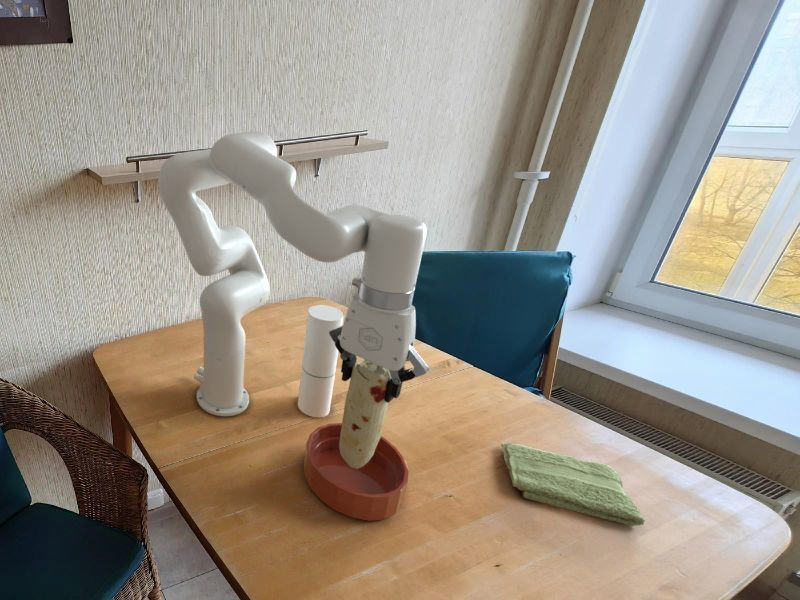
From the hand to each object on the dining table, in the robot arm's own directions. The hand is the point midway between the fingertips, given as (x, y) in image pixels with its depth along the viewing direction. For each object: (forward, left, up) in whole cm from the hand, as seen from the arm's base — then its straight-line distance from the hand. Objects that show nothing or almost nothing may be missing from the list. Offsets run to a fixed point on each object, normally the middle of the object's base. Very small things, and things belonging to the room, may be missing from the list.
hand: (368, 387), depth 73 cm
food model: (0, 0, -15) cm, 15 cm away
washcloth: (+26, +28, -22) cm, 44 cm away
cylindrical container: (-16, +13, -22) cm, 30 cm away
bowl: (0, 0, -22) cm, 22 cm away
